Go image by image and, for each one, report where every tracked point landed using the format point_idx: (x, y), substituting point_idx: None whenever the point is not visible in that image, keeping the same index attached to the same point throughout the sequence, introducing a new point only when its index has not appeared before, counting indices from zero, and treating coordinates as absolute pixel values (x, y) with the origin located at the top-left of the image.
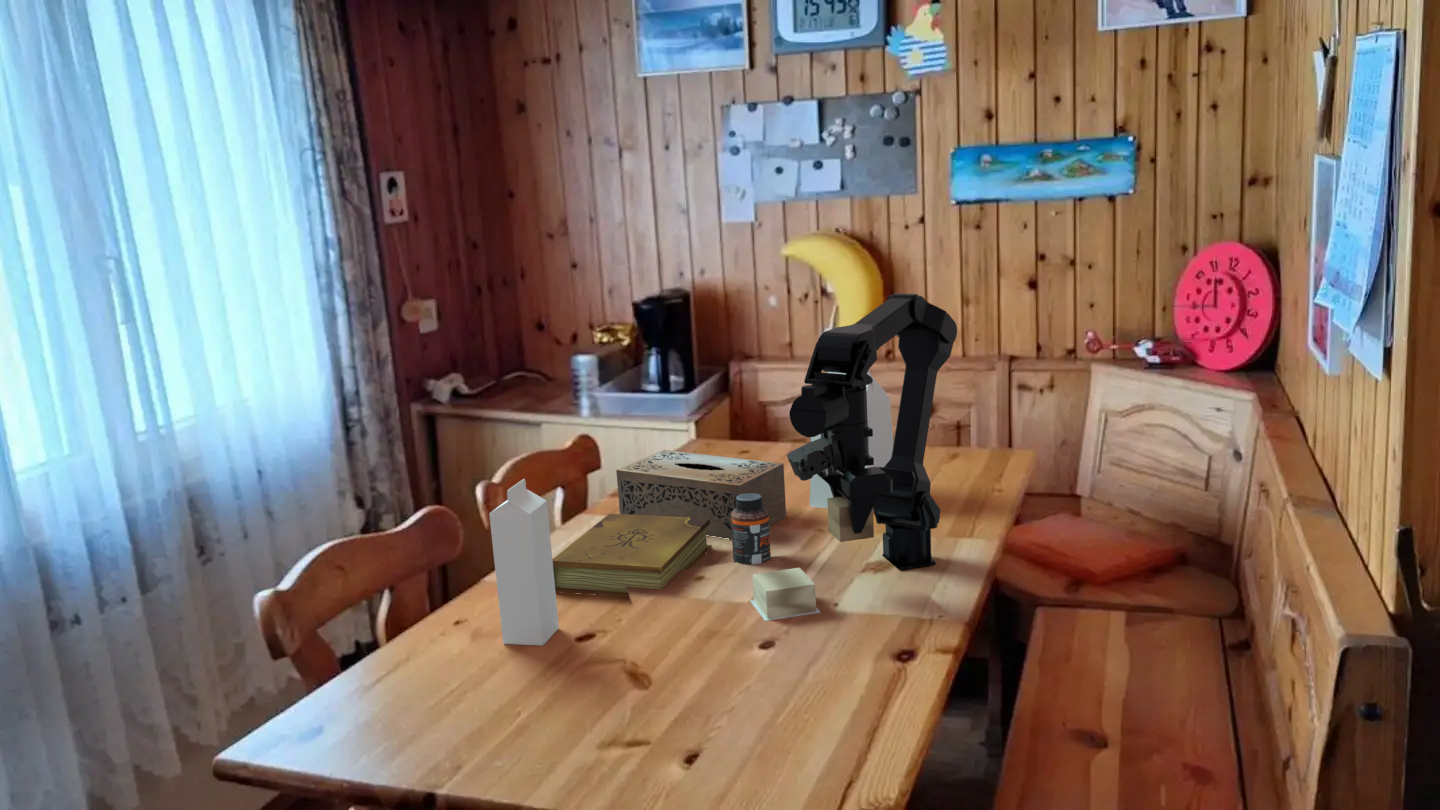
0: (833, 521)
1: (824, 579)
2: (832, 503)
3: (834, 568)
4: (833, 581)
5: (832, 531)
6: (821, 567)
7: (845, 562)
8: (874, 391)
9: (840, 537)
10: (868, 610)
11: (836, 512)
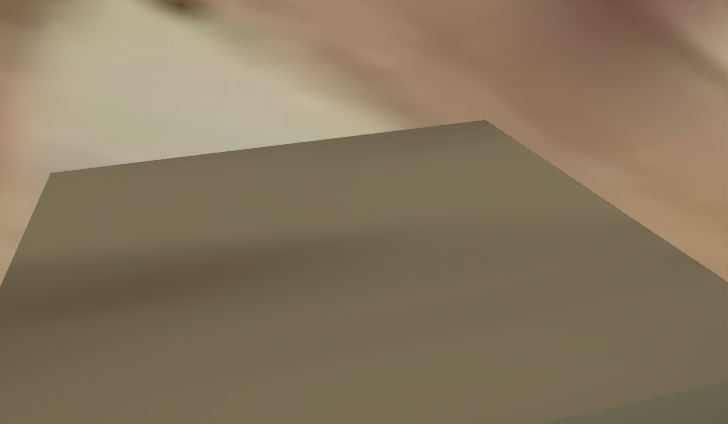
0: (341, 220)
1: (557, 35)
2: (468, 417)
3: (664, 122)
4: (511, 75)
5: (358, 150)
6: (707, 62)
7: (703, 188)
8: None
9: (42, 201)
10: (40, 162)
11: (164, 377)
